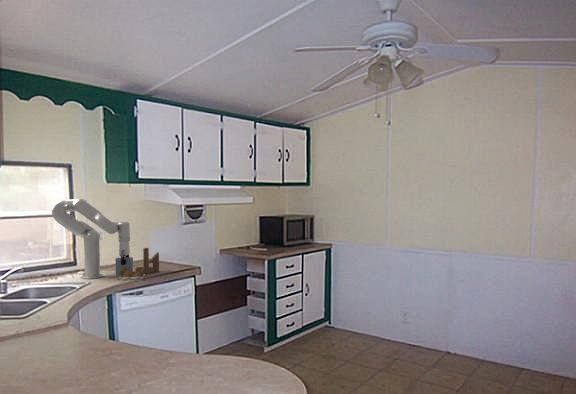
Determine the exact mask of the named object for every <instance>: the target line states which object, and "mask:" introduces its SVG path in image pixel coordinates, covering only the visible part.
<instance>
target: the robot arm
mask: <svg viewBox="0 0 576 394" xmlns="http://www.w3.org/2000/svg"><path fill="white" fill-rule="evenodd" d="M70 212H71V213H73V212H77V213H79V214H80V215H82V216H83V217H84V218H86V219H87V220H89V221H91V222H92V223H93V224H95V225H96V226H97V227H99V228H100V229H101V230H103V231H104V232H106V233H107V234H109V235H113V234H116V233H117V235H118V243H119V246H118V247H119V249H118V251H119V252H118V253H119V254H118V256H119V257H120V258H121V265H126V259H125V258H128V257H130V251H131V249H130V242H131V229H130V228H131V227H130V223H129V221H120V222H117V221H116V222H114V221H113V222H112V221H111V220H109V219H108V218H107V217H105V216H104V214H102V212H101V211H100V210H99V209H97V208H96V207H94V206H92V205H91V204H90V203H89V202H87V200H85V199H83V198H73V199H62V200H61V199H60V200H57V201H55V202H54V203H53V204H52V207H51V215H52V217H53V219H54V220H55V221H56V223H57V224H60V226H62V227H63V228H64V229H66V230H67V231H69V232H70V233H71V234H73V235H74V236H77V237H78V236H79V237H80V238H82V239H83V252H84V253H83V254H84V271H78V275H79V276H80V275H82V276H81V277H82V279H84V280H85V279H86V280H87V279H88V280H93V279H99V278H102V277H103V274H102V273H101V269H100V268H101V263H100V262H101V256H100V254H101V253H100V239H101V233H100V232H99V231H97V230H96V229H95V228H93V227H92V226H90V225H89V224H88V223H86V222H85V221H82V220H78V219H76V218H75V217H74V216H72V215H71V214H69V213H70Z"/></svg>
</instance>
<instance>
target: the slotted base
mask: <svg viewBox="0 0 576 394" xmlns="http://www.w3.org/2000/svg"><path fill="white" fill-rule="evenodd" d="M143 268H144V266H136V267H135V271H133V272H129V267H123V268H121V275H119V277H118V278H117V280H118V281H128V280H129V279H135V280H143V279H145V277H147V273H143Z"/></svg>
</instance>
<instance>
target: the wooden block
mask: <svg viewBox="0 0 576 394" xmlns="http://www.w3.org/2000/svg"><path fill="white" fill-rule="evenodd" d="M149 251H150V249H149V248H148V247H144V248H143V257H142V258H143V259H142V260H143V274H151V273H159V272H160V253H159V252H158V251H157V252H155V254H154V255H153V256H152V257H151V258H150V255H149V253H150V252H149ZM150 264H152V266H150Z"/></svg>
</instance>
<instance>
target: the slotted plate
mask: <svg viewBox="0 0 576 394" xmlns="http://www.w3.org/2000/svg"><path fill="white" fill-rule="evenodd" d="M125 259H126V265H121V257H116V258H115V276H121V268H123V267H129V272H134V258H133V256H132V257H131V256H129V257H128V258H125Z"/></svg>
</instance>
